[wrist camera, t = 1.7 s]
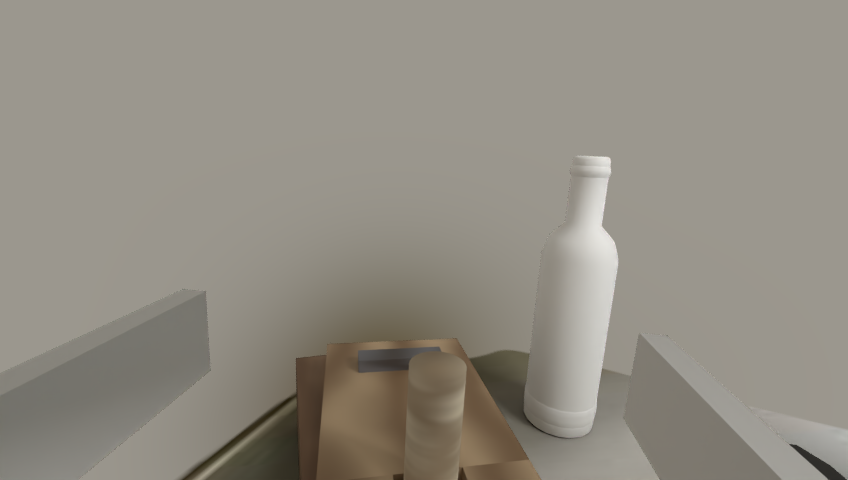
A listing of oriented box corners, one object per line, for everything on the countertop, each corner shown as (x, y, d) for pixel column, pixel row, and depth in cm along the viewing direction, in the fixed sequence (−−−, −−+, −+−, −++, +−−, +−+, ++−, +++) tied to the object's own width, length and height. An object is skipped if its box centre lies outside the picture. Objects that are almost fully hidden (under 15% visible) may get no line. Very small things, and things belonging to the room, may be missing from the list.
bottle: (543, 444, 42) (581, 155, 36) (510, 399, 50) (537, 154, 43) (608, 434, 44) (655, 159, 38) (567, 393, 52) (600, 157, 45)
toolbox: (420, 405, 48) (423, 344, 46) (536, 630, 26) (551, 527, 24) (297, 425, 43) (295, 358, 41) (309, 720, 21) (307, 600, 19)
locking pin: (437, 537, 27) (451, 348, 24) (459, 584, 24) (477, 375, 21) (393, 552, 26) (401, 355, 23) (409, 604, 23) (421, 385, 20)
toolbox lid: (455, 350, 45) (457, 328, 44) (573, 561, 22) (579, 521, 21) (327, 357, 42) (327, 333, 41) (307, 606, 19) (307, 561, 18)
